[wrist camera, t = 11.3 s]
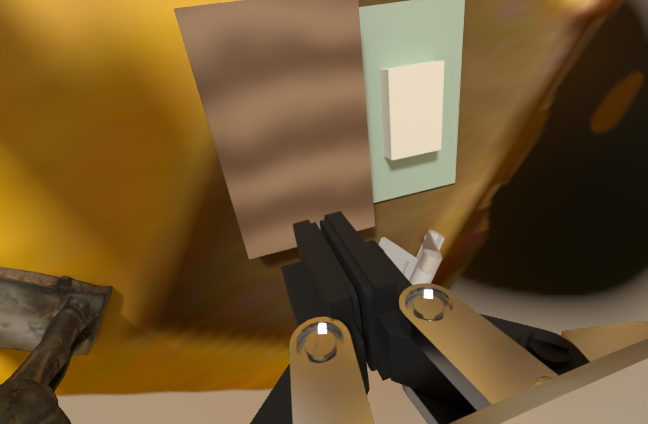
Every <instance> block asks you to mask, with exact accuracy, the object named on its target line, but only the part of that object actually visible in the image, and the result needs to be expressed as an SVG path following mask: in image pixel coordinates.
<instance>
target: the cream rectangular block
mask: <svg viewBox="0 0 648 424" xmlns="http://www.w3.org/2000/svg"><path fill="white" fill-rule="evenodd" d="M444 62H445V60H442V61H429V62H423V63H417V64H411V65H404V66H398V67H392V68H386V69H380V90H381V111H382V132H383V152H384V156H385V157H386V158H388V159H390V160H391V161H392V160H396V159H401V158H406V157H410V156H415V155H419V154H424V153H428V152H433V151H438V150H441V142H442V116H443V89H444Z"/></svg>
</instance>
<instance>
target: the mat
mask: <svg viewBox="0 0 648 424" xmlns="http://www.w3.org/2000/svg"><path fill="white" fill-rule="evenodd" d="M464 6H465V0H411V1H404V2H396V3H388V4H381V5H373V6H365V7H359V17H360V30H361V44H362V57H363V70H364V84H365V97H366V111H367V124H368V137H369V151H370V164H371V178H372V191H373V203H376V202H380V201H384V200H388V199H392V198H396V197H400V196H404V195H408V194H412V193H416V192H420V191H424V190H428V189H432V188H436V187H440V186H444V185H448V184H452V183H455V172H456V153H457V135H458V116H459V98H460V79H461V61H462V43H463V24H464ZM442 60H445V62H444V89H443V116H442V142H441V150H438V151H433V152H428V153H424V154H419V155H415V156H410V157H406V158H401V159H396V160H392V161H391V160H390V159H388V158H386V157H385V156H384V152H383V132H382V111H381V90H380V69H386V68H392V67H398V66H404V65H411V64H417V63H423V62H429V61H442Z"/></svg>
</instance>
